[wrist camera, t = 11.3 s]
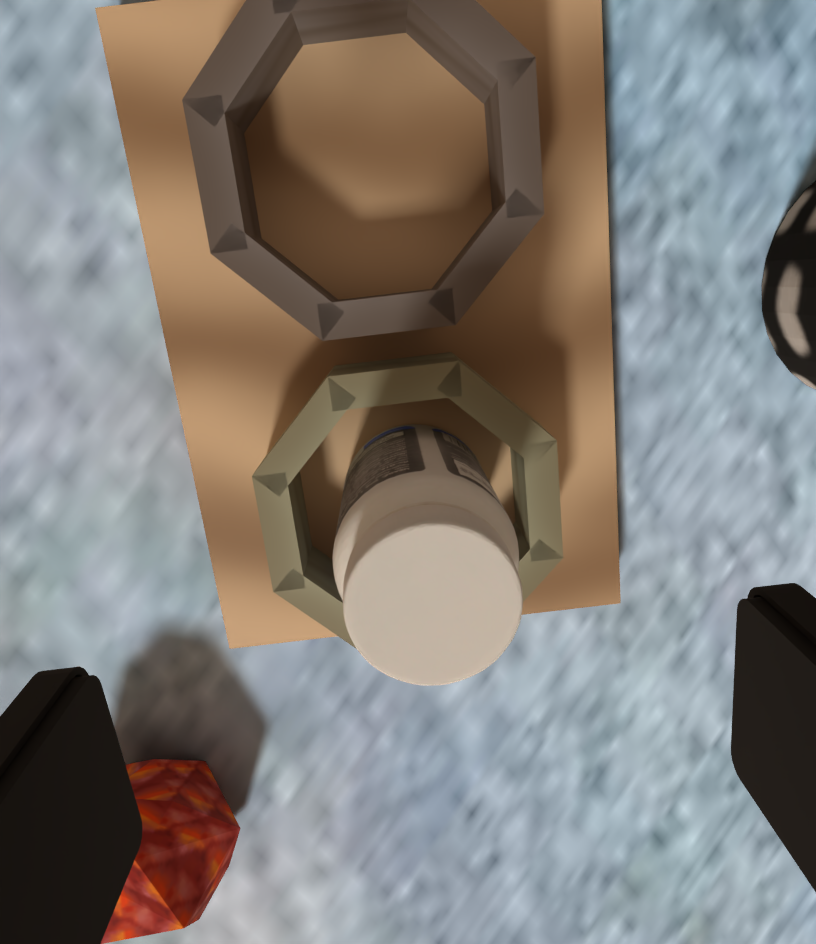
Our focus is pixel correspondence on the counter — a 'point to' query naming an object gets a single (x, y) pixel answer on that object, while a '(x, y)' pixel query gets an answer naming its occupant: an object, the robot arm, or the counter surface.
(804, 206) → the spotted tube
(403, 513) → the pill bottle
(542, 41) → the socket board
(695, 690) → the counter surface
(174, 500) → the counter surface
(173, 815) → the decorative stone
